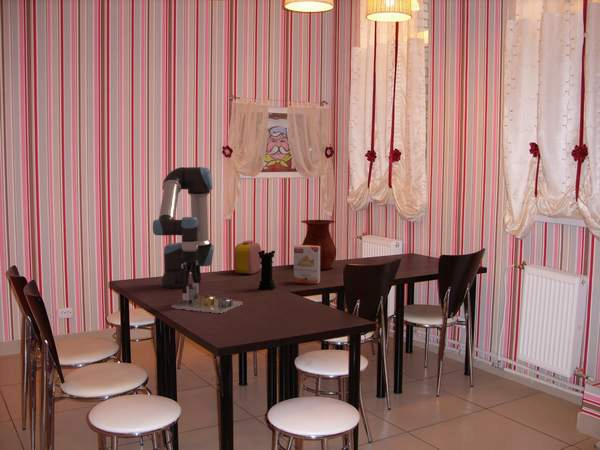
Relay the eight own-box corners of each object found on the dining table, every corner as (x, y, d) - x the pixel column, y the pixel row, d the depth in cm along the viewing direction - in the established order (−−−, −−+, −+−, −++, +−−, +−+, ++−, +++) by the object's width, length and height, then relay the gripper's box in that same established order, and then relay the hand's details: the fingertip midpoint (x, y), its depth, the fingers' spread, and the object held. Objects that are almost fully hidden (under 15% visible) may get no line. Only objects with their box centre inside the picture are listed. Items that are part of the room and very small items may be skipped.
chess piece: (272, 290, 343) (272, 252, 341) (257, 289, 345) (257, 252, 343) (275, 287, 351) (275, 250, 349) (261, 286, 352) (261, 250, 350)
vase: (334, 265, 427) (334, 219, 424) (338, 271, 403) (339, 222, 401) (298, 265, 425) (298, 219, 422) (300, 271, 402) (301, 223, 399)
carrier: (171, 308, 301) (171, 296, 300) (195, 300, 319) (195, 288, 318) (220, 313, 290) (220, 301, 290) (242, 304, 308) (242, 293, 308)
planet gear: (179, 299, 306) (179, 289, 305) (188, 296, 313) (188, 286, 312) (193, 300, 303) (193, 290, 302) (201, 297, 310) (201, 287, 309)
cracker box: (293, 283, 363) (293, 246, 361) (296, 281, 369) (296, 244, 367) (318, 284, 360) (318, 246, 358) (320, 282, 366) (320, 245, 364)
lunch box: (245, 270, 406) (245, 239, 405) (262, 271, 403) (262, 239, 401) (233, 275, 389) (233, 242, 387) (250, 276, 386) (250, 243, 384)
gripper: (184, 253, 295) (185, 303, 297) (208, 247, 313) (208, 294, 316) (170, 252, 298) (171, 301, 300) (195, 247, 316) (195, 293, 319)
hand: (190, 298), depth 308 cm, fingers closed on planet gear, 8 cm apart
